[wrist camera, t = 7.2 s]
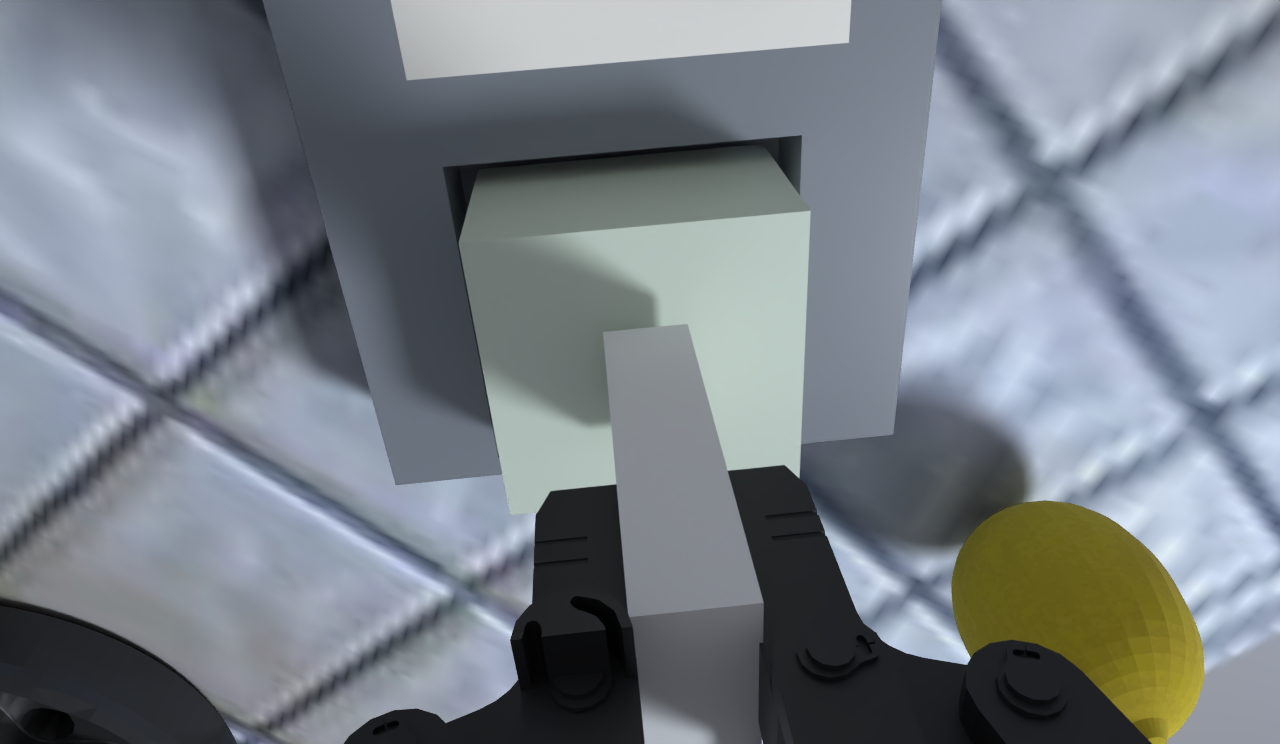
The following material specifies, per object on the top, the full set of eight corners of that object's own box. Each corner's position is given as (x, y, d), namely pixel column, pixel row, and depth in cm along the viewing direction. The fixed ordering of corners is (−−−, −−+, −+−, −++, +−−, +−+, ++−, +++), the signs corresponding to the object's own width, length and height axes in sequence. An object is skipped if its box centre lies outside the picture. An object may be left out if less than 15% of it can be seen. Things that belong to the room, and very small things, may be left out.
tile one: (518, 407, 21) (509, 524, 17) (478, 169, 18) (456, 250, 14) (760, 384, 21) (802, 494, 17) (762, 144, 18) (815, 216, 14)
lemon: (878, 552, 27) (986, 790, 20) (993, 421, 24) (1160, 639, 18) (1008, 603, 28) (1149, 838, 22) (1127, 485, 26) (1327, 707, 19)
